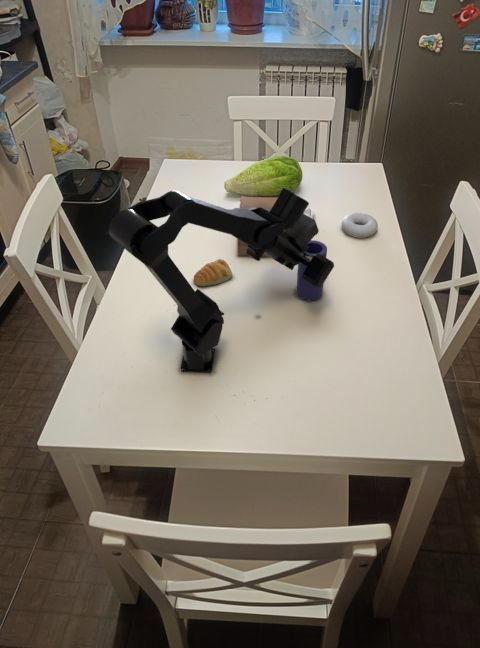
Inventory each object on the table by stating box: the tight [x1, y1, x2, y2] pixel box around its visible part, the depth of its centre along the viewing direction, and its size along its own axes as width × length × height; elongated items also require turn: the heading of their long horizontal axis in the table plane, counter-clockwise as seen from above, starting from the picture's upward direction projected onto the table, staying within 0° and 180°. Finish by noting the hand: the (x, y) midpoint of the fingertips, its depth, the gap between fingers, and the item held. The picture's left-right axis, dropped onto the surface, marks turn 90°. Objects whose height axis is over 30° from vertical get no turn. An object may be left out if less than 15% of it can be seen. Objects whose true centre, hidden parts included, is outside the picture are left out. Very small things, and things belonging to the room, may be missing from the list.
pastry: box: [193, 258, 233, 288], centre depth 125 cm, size 9×7×4 cm
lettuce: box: [223, 155, 303, 197], centre depth 155 cm, size 12×24×13 cm
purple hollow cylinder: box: [295, 239, 328, 302], centre depth 118 cm, size 6×6×13 cm
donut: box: [341, 212, 379, 239], centre depth 142 cm, size 10×4×10 cm
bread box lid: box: [239, 196, 285, 230], centre depth 130 cm, size 15×15×4 cm
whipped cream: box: [303, 204, 314, 219], centre depth 146 cm, size 8×7×5 cm
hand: (310, 266), depth 117 cm, fingers open, 9 cm apart
